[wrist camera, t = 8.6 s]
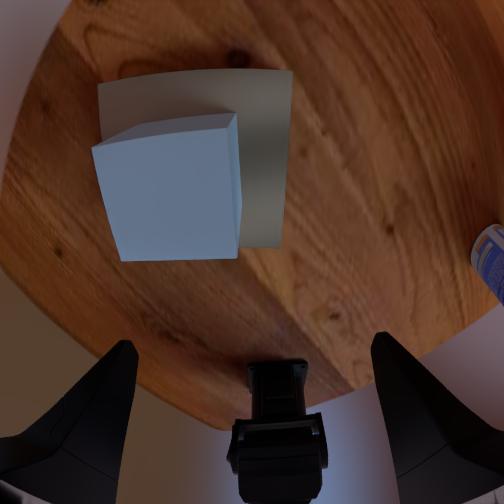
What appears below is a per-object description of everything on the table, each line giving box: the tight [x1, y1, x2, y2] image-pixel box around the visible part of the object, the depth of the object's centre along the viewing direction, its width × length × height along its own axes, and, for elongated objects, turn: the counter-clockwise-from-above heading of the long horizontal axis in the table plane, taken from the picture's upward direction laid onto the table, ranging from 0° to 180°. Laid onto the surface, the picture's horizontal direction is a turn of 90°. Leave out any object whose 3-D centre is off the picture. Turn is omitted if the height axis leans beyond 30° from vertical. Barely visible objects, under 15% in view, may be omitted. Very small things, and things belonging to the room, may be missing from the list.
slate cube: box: [92, 113, 242, 261], centre depth 12 cm, size 5×5×5 cm
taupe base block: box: [98, 69, 293, 249], centre depth 16 cm, size 10×10×4 cm
